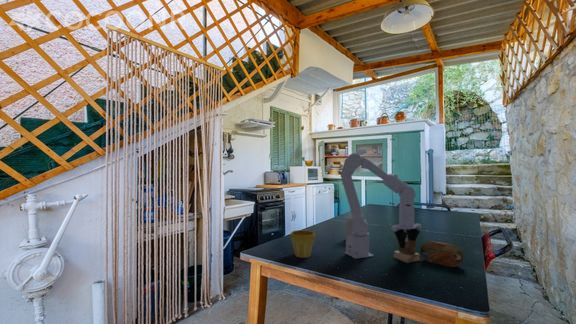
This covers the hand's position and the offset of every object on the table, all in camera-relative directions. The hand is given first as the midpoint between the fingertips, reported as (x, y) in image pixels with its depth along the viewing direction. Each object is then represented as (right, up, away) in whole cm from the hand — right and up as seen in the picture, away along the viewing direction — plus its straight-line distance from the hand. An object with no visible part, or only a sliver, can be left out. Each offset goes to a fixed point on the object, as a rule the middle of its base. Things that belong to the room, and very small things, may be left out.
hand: (406, 247), depth 113 cm
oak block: (0, -5, 0) cm, 5 cm away
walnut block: (0, -2, 0) cm, 2 cm away
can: (-16, -5, +27) cm, 32 cm away
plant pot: (-43, -5, +3) cm, 44 cm away
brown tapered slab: (+12, -5, -5) cm, 14 cm away
